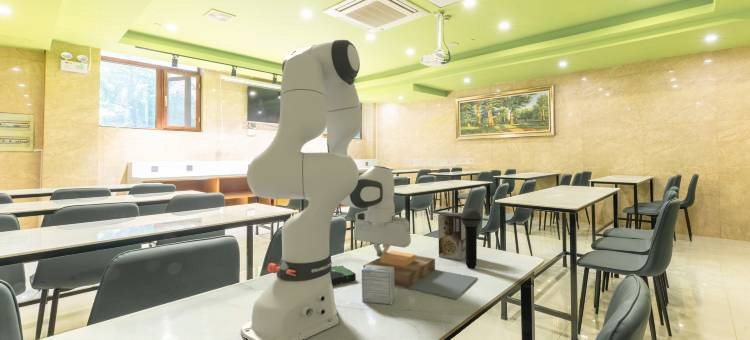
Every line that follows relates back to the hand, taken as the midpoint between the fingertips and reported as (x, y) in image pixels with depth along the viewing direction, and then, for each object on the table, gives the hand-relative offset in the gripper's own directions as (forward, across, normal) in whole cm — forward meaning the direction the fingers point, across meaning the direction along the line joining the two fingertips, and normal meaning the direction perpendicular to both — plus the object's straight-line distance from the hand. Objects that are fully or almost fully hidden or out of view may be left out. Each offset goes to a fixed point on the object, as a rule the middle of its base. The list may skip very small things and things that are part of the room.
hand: (381, 256), depth 113 cm
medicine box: (+5, -12, +20) cm, 24 cm away
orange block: (+1, -6, 0) cm, 6 cm away
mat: (+5, -22, 0) cm, 22 cm away
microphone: (+5, -24, -18) cm, 30 cm away
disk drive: (+5, +10, +16) cm, 20 cm away
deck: (+5, -7, 0) cm, 8 cm away
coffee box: (+5, -14, -27) cm, 31 cm away
